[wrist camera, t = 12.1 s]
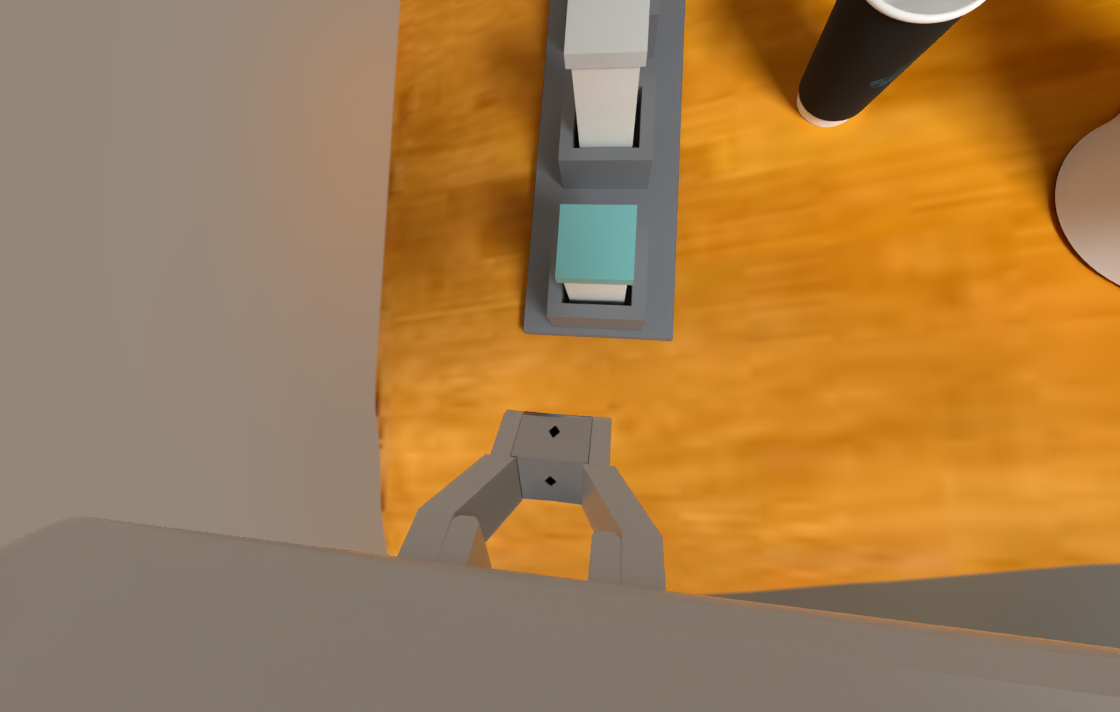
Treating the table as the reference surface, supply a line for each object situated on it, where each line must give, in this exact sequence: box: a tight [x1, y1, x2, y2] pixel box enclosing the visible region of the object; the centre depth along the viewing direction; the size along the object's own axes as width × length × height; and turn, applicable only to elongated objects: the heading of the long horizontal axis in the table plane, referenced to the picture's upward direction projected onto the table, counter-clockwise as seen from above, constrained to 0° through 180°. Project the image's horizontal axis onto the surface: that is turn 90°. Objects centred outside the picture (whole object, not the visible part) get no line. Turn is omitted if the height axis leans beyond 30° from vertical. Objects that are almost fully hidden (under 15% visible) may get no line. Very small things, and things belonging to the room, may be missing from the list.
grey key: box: [564, 0, 650, 148], centre depth 27 cm, size 5×5×9 cm
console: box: [523, 0, 685, 341], centre depth 33 cm, size 12×32×5 cm, turn 176°
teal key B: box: [555, 204, 637, 306], centre depth 28 cm, size 5×5×9 cm
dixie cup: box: [797, 0, 986, 127], centre depth 28 cm, size 8×8×11 cm
